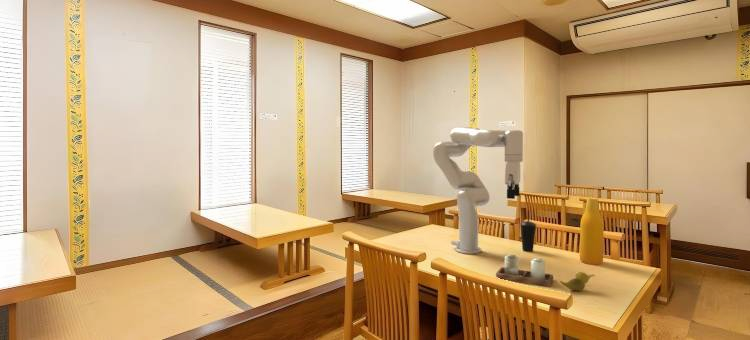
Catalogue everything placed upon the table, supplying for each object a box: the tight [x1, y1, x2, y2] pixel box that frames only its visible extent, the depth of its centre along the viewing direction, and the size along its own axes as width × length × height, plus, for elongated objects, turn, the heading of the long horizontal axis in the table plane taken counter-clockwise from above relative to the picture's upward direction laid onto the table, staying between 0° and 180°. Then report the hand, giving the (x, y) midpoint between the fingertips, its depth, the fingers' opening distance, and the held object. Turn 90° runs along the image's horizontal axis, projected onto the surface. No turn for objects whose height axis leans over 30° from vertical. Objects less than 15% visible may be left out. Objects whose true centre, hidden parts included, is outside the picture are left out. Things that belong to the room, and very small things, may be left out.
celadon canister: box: [530, 257, 546, 280], centre depth 152 cm, size 5×5×9 cm
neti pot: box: [559, 271, 596, 291], centre depth 142 cm, size 4×15×6 cm, turn 104°
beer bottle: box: [579, 197, 605, 266], centre depth 174 cm, size 9×9×29 cm
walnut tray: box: [495, 253, 554, 288], centre depth 154 cm, size 20×9×9 cm, turn 59°
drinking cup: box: [519, 210, 537, 253], centre depth 194 cm, size 8×8×20 cm
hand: (513, 197), depth 171 cm, fingers open, 9 cm apart
